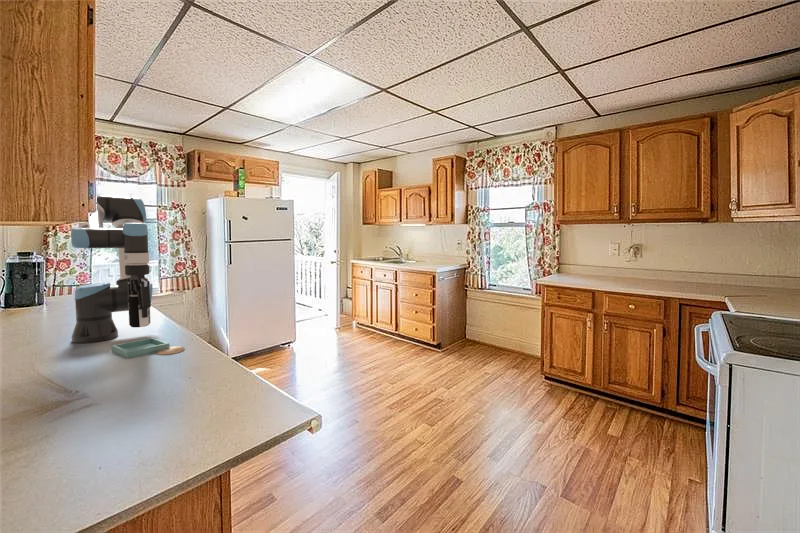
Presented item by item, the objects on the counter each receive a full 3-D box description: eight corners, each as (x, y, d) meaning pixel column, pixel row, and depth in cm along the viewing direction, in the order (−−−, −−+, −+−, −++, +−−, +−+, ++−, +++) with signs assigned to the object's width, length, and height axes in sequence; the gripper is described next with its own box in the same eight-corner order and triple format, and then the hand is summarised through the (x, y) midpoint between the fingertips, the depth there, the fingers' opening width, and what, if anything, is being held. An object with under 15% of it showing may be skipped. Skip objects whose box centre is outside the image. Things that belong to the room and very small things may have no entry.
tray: (111, 351, 138) (111, 345, 138) (153, 343, 150) (153, 337, 150) (127, 358, 131) (127, 352, 130) (169, 349, 142) (169, 343, 142)
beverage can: (131, 324, 141) (130, 293, 140) (152, 323, 144) (150, 292, 143) (127, 328, 135) (125, 296, 134) (148, 326, 138) (147, 295, 137)
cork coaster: (152, 351, 139) (152, 350, 138) (177, 346, 146) (177, 345, 146) (163, 356, 134) (163, 355, 133) (188, 350, 141) (188, 349, 141)
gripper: (114, 263, 140) (117, 323, 142) (136, 266, 129) (139, 330, 131) (137, 262, 146) (140, 319, 148) (160, 264, 135) (162, 326, 137)
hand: (140, 324), depth 139 cm, fingers closed on beverage can, 7 cm apart
